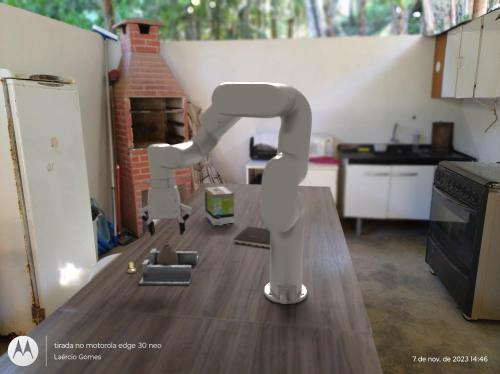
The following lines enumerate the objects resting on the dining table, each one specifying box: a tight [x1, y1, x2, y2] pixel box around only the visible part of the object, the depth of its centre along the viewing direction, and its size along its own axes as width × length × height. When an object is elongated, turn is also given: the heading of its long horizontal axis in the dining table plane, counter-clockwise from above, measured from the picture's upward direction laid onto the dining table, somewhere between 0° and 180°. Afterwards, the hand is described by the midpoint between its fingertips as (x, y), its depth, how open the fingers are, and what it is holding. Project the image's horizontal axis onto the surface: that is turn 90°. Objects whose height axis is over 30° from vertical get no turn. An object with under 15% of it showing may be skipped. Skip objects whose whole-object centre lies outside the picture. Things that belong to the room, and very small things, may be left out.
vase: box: [156, 243, 179, 265], centre depth 126 cm, size 7×7×9 cm
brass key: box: [127, 261, 137, 274], centre depth 128 cm, size 7×3×1 cm, turn 19°
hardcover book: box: [233, 225, 270, 249], centre depth 153 cm, size 16×23×2 cm
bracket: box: [138, 248, 200, 286], centre depth 126 cm, size 20×16×5 cm
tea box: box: [204, 185, 235, 226], centre depth 175 cm, size 15×10×15 cm, turn 22°
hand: (167, 233), depth 123 cm, fingers open, 9 cm apart
